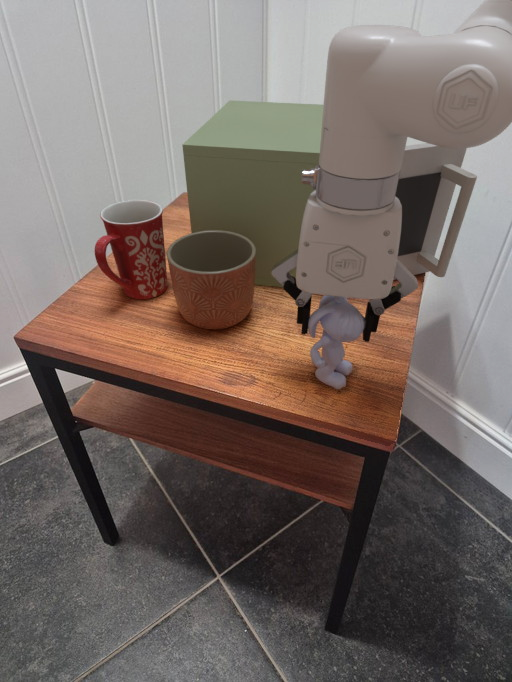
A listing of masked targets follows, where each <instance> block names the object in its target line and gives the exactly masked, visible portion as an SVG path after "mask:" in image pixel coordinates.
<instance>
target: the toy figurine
mask: <svg viewBox="0 0 512 682" xmlns="http://www.w3.org/2000/svg"><path fill="white" fill-rule="evenodd" d="M319 323H320V325H321V327H322V329H323V330H322V333H321V337H320V339H318V341H317V342H315V343H314V344H313V346H311V348H310V350H309V355H310V359H311V362H312V364H313V365H314V366H315V367H316V370H315V372H314V375H315V377H316V379H317V380H318V381H320V382H321V383H323V384H325V385H327V386H329V387H332V388H334V390H335V389H336V390H341V389H342V388H346V386H347V378H346V376H349V375H350V374H351V373H352V372H353V369H354V367H353V365H352V363H351V362H350V361H349V360H346V359H344V358H345V357H346V351H345V347H344V345H343V343H350V342H355V341H356V340H358V339H359V338H360V337H361V335H363V330H364V328H365V326H366V320H365V315H363V314H362V313H361V312H360V310H359V309H358V308H357V307H356V306H355V305H354V304H352V303H351V302H349V300H348V298H347V297H337V296H328V295H322V298H321V299H320V301H319V304H318V308H317V309H315V310H314V311H313V312H312V313H310V318H309V321H308V333H309V336H310V337H311V338H312V339H315V338H316V334H317V326H318V324H319ZM320 349H321V353H320V352H319V350H320Z"/></svg>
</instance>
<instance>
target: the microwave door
mask: <svg viewBox="0 0 512 682" xmlns="http://www.w3.org/2000/svg"><path fill="white" fill-rule="evenodd" d="M467 150H468V148H464V149H454V148H446V147H441V146H437V145H433V144H429V143H426V142H423V143H418V144H411V145H410V144H409V145H406V146H405V151H404V156H403V161H402V166H401V171H400V176H399V181H398V186H397V190H396V195H395V196H396V197H397V198H398V199H399V200H400V203H401V205H402V223H401V235H400V243H399V250H398V256H397V259H398V260H399V261H400V262H401V263H402V264H403V265H404V266H405V267H406V268H407V269H408V270H409V271H410V272H411V273H412V274H413V275H414V276H416V275H421V274H425V273H431V274H433V275H434V276H435V277H437V278H444V277H446V274H447V270H448V268H449V265H450V262H451V258H452V256H453V252H454V249H455V246H456V244H457V241H458V237H459V234H460V231H461V228H462V226H463V221H464V219H465V216H466V212H467V210H468V207H469V203H470V200H471V197H472V194H473V191H474V189H475V185H476V181H477V178H478V176H477V174H474V173H473V172H470V171H469V170H466V169H464V168H463V167H462V166H463V162H464V159H465V156H466V152H467ZM456 185H457V186H459V187H460V189H459V193H458V196H457V200H456V203H455V206H454V210H453V212H452V216H451V219H450V223H449V226H448V228H447V232H446V235H445V239H444V242H443V245H442V248H441V251H440V255H439V257H438V258H436V253H437V250H438V246H439V243H440V239H441V237H442V233H443V230H444V226H445V223H446V221H447V220H446V219H447V216H448V213H449V209H450V207H451V203H452V200H453V196H454V192H455V189H456ZM396 280H397V279H396V278H395V277H394V279H393V281H396Z"/></svg>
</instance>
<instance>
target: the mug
mask: <svg viewBox="0 0 512 682" xmlns="http://www.w3.org/2000/svg"><path fill="white" fill-rule="evenodd" d="M163 213H164V209H163V207H162V205H160V204H159V203H158V202H155V201H151V200H147V199H127V200H122V201H118V202H114V203H112V204H109V205H107V206H106V207H104V208H103V209H102V210H101V211H100V213H99V217H100V220H101V221H102V222H103V225H104V229H105V232H106V235H103V236H101V237H99V238H98V240H97V241H96V243H95V246H94V257H95V262H96V264H97V266H98V268H99V269H100V270H101V272H102V273H103V274H104V275H105V276H106V277H107V278H109V279H110V280H111V281H113V282H114V283H115V284H117V285H119V286H121V287H122V289H123V292H124V294H125V296H127V297H129V298H131V299H135V300H148V299H153V298H157V297H158V296H161V295H162V294H164V293H165V292H166V290H168V273H167V272H168V271H167V256H166V248H165V247H166V246H165V236H164V225H163V224H164V223H163ZM108 246H110V249H111V252H112V255H113V259H114V263H115V266H116V269H117V272H118V275H117V274H116V273H114V272H113V270H112V268H111V267H110V266H109V264H108V263H109V262H108V259H107V249H108Z"/></svg>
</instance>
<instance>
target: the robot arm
mask: <svg viewBox="0 0 512 682" xmlns="http://www.w3.org/2000/svg"><path fill="white" fill-rule="evenodd" d="M327 54H328V55H327V60H326V70H325V71H326V72H325V83H324V95H323V104H322V105H323V117H322V129H321V142H320V155H319V165H316V167H315V169H313V168H311V170H303V173H302V184H309V186H313V189H316V190H315V191H314V192H312V193H311V194H310V197H309V198H308V201H307V204H306V207H305V211H304V215H303V220H302V226H301V232H300V240H299V248H298V249H297V250H296V251H294V252H293V253H291V254H290V255H288V256H287V257H285V258H284V259H282V260H281V261H279V262H278V263H277V264H275V265H274V266H273V269H272V272H271V273H272V276H273V277H274V278H275V279H276V280H277V281H278V282H279V283H280V284H281V285H282V286H283V287H282V288H283V290H284V292H286V293H287V294H288V295H289V297H291V298H292V299H293V300H294V303H295V306H296V307H297V315H296V324H298V325H301V332H300V335H307V334H308V333H309V330H308V321H309V318H310V316H311V308H312V298H313V295H319V296H324V295H328V296H337V297H347V299H348V298H349V299H357V300H368V301H367V304H366V309H365V315H364V318H365V320H366V326H365V328H364V330H363V332H362V341H364V342H365V343H369V342H370V339H371V335H372V333H377V332H378V326H379V323H380V319H381V316H382V315H384V314H385V311H386V310H387V309H389V308H391V307H392V306H395V305H397V304H398V303H400V302H401V300H402V299H403V298H405V297H407V296H409V295H411V294H412V293H413V292H415V291H416V290H417V289H418V288H419V283H418V279H417V277H416V275H413V274H412V273H411V272H410V271H409V270H408V269H407V268H406V267H405V266H404V265H403V264H402V263H401V262H400V261H399V260H398V259H397V256H398V250H399V243H400V235H401V223H402V205H401V203H400V200H399V199H398V198H397V197H396V196H395V195H396V190H397V186H398V181H399V176H400V171H401V166H402V161H403V156H404V151H405V146H407V142H408V141H407V140H408V138H409V139H413V140H416V141H420V142H422V143H429V144H433V145H437V146H441V147H446V148H454V149H464V148H467V149H471V148H475V147H479V146H482V145H484V144H486V143H488V142H490V141H492V140H493V139H495V138H497V137H498V136H500V135H501V134H502V133H504V131H505V130H507V128H508V127H510V125H511V124H512V0H484V1H483V2H482V3H481V4H480V5H479V6H478V7H477V8H476V9H475V10H474V11H473V12H472V13H471V14H470V16H468V17H467V18H466V19H465V20H464V22H462V23H461V24H460V25H459V26H458V28H457V29H456V30H455V31H453V32H452V33H448V34H438V35H437V34H436V35H422V34H421V33H420V32H419V31H418V30H416V29H414V28H412V27H408V26H403V25H395V24H393V25H391V24H361V25H352V26H347V27H344V28H342V29H340V30H338V32H337V33H335V34H334V36H333V37H332V39H331V41H330V43H329V46H328V52H327ZM295 267H296V279H295V278H294V277H293V276H291V275H290V273H289V271H291V270H292V269H294V268H295ZM394 277H395V278H396V280H397V281H398V283H397V284H396V285H393V283H394V280H393V279H394Z"/></svg>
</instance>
